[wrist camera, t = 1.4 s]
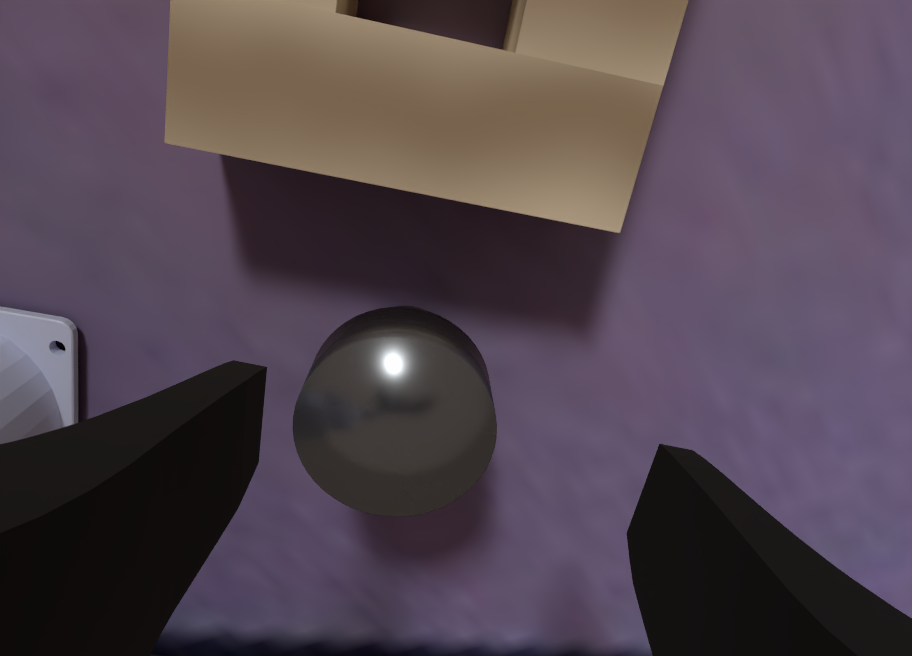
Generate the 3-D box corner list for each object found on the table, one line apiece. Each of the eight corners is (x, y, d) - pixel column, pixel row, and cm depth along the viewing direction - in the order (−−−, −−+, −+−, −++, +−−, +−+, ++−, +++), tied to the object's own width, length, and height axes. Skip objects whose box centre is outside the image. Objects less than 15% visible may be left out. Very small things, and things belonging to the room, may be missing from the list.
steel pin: (464, 424, 24) (473, 529, 18) (319, 400, 23) (282, 501, 18) (496, 287, 22) (517, 358, 17) (339, 258, 22) (305, 321, 16)
